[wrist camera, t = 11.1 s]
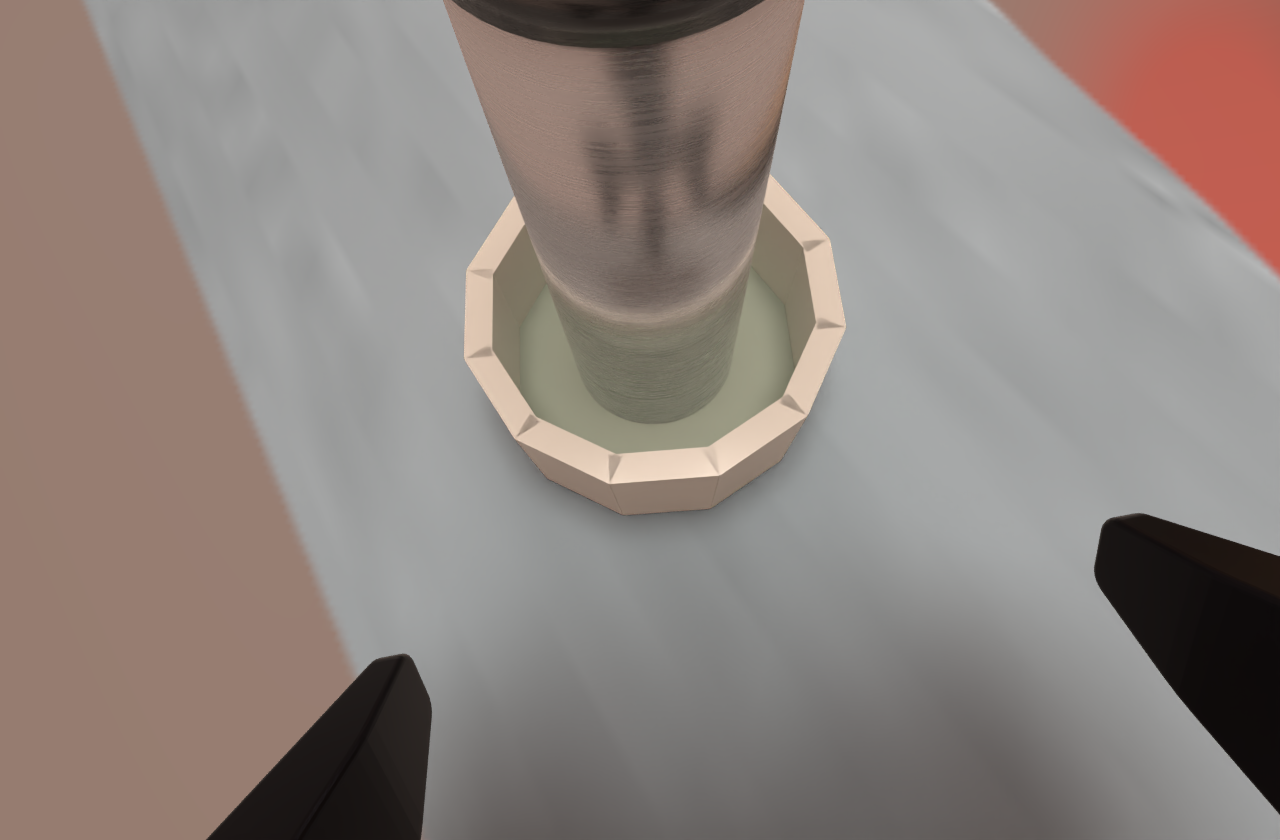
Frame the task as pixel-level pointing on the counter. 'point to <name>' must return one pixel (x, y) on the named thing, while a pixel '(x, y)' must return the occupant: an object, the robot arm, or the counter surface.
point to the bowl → (670, 452)
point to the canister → (637, 173)
